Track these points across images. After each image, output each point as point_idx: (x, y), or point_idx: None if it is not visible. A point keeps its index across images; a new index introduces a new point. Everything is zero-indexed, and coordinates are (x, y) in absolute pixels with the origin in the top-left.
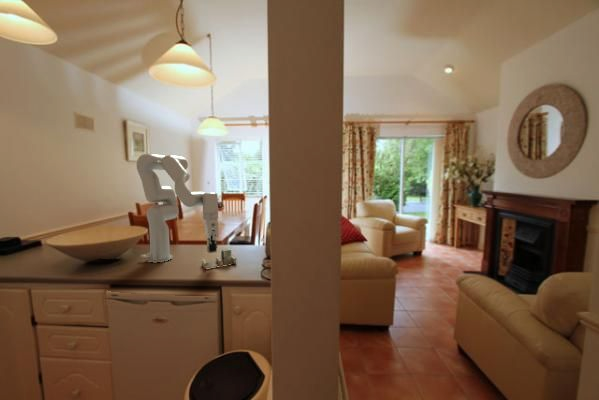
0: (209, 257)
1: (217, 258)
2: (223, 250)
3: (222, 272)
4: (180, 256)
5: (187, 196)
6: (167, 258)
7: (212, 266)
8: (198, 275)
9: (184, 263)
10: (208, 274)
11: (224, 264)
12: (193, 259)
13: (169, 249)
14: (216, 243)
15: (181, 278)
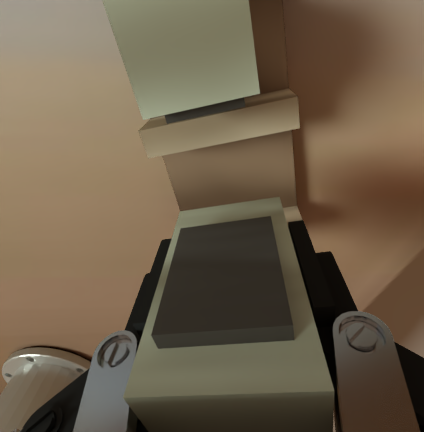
0: (14, 184)
1: (202, 146)
2: (225, 97)
3: (419, 94)
4: (8, 322)
5: None
6: (70, 367)
7: (281, 175)
8: (367, 247)
9: (130, 305)
10: (389, 196)
11: (275, 68)
12: (61, 272)
13: (11, 402)
14: (283, 282)
15: (358, 310)
